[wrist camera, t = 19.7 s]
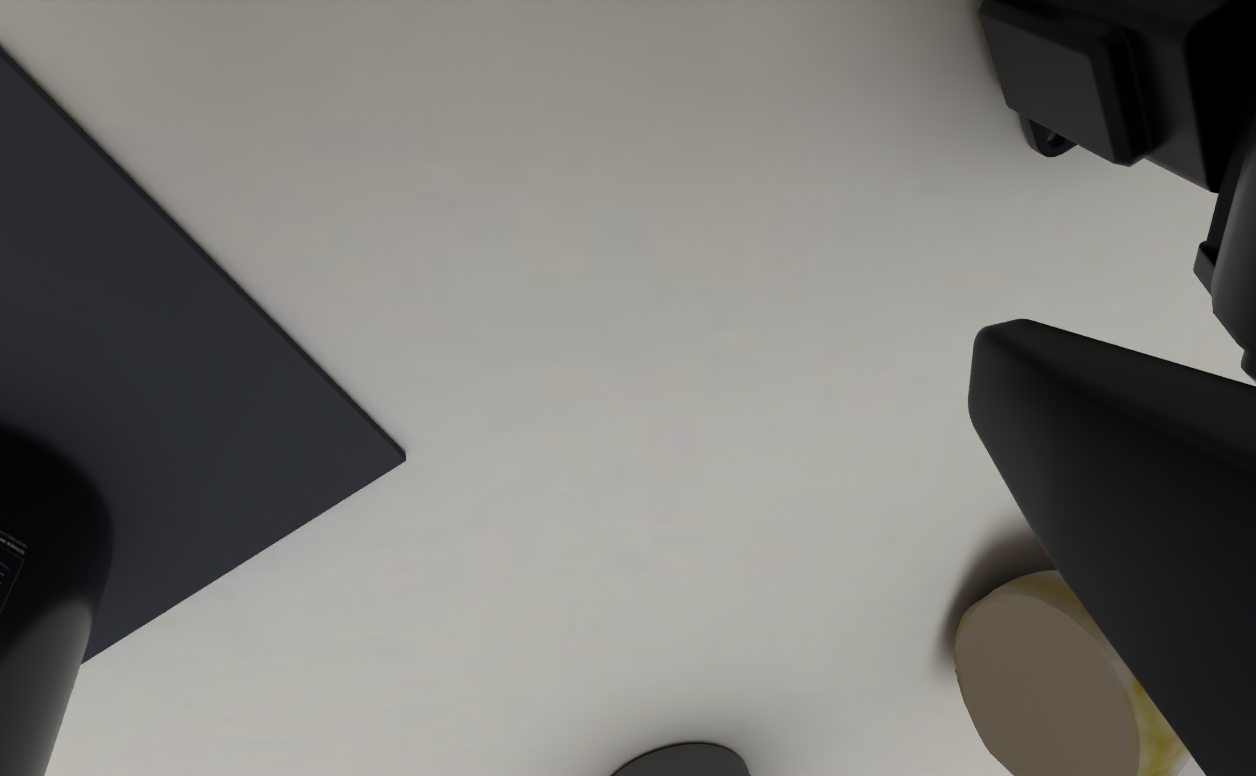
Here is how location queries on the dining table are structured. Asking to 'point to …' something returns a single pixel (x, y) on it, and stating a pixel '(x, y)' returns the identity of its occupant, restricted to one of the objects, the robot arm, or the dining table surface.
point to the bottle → (687, 762)
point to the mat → (154, 374)
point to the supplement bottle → (44, 596)
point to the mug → (1056, 688)
